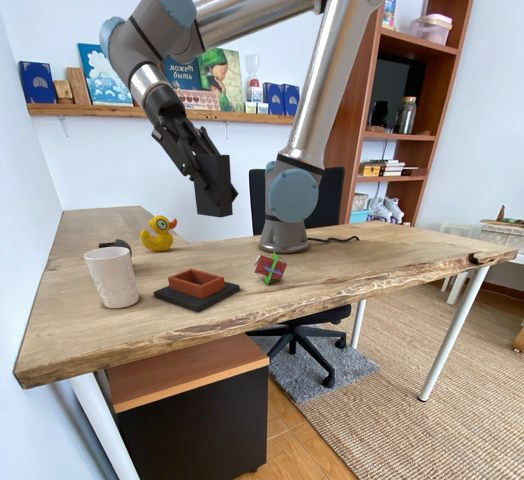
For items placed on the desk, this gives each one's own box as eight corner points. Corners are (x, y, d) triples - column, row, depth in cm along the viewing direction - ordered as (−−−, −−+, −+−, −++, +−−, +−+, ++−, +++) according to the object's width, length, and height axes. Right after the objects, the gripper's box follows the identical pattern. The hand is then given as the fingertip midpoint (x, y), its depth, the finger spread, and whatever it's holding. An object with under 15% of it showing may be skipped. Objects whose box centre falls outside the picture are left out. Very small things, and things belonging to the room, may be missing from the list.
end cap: (134, 275, 73) (126, 247, 69) (103, 278, 71) (94, 250, 68) (135, 263, 81) (128, 237, 77) (107, 266, 79) (99, 240, 75)
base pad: (198, 278, 71) (196, 263, 69) (240, 290, 65) (239, 274, 63) (154, 296, 62) (150, 280, 60) (198, 312, 56) (195, 294, 54)
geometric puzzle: (288, 266, 72) (269, 240, 67) (297, 275, 66) (277, 248, 62) (265, 284, 73) (245, 260, 69) (272, 295, 68) (251, 270, 63)
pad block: (209, 211, 68) (204, 154, 61) (233, 214, 64) (229, 154, 58) (197, 214, 65) (190, 154, 59) (220, 217, 62) (215, 155, 55)
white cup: (100, 313, 56) (82, 261, 51) (101, 297, 62) (84, 249, 57) (143, 305, 59) (130, 255, 53) (140, 291, 65) (128, 245, 59)
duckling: (180, 246, 95) (175, 212, 89) (182, 250, 91) (177, 216, 85) (143, 249, 92) (135, 215, 86) (144, 254, 88) (135, 218, 82)
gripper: (184, 122, 68) (243, 207, 70) (117, 117, 57) (189, 218, 58) (197, 90, 63) (261, 182, 64) (126, 76, 51) (206, 190, 53)
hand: (227, 199), depth 61 cm, fingers closed on pad block, 4 cm apart
